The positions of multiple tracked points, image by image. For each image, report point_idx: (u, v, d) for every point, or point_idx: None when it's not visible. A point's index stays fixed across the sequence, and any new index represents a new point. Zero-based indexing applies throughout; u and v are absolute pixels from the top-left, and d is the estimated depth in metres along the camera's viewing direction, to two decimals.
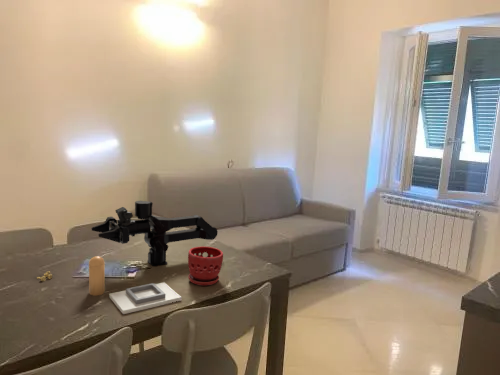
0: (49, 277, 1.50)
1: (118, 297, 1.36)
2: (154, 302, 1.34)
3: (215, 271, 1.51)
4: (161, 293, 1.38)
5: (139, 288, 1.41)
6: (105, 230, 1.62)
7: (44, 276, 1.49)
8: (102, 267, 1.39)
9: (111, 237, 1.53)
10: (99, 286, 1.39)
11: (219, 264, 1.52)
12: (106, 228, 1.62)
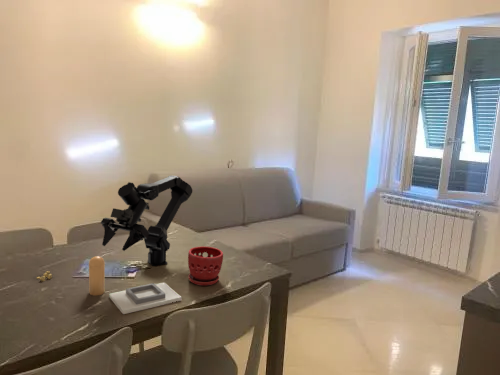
0: (49, 277, 1.50)
1: (118, 297, 1.36)
2: (154, 302, 1.34)
3: (215, 271, 1.51)
4: (161, 293, 1.38)
5: (139, 288, 1.41)
6: (111, 234, 1.52)
7: (44, 276, 1.49)
8: (102, 267, 1.39)
9: (133, 241, 1.47)
10: (99, 286, 1.39)
11: (219, 264, 1.52)
12: (111, 232, 1.52)
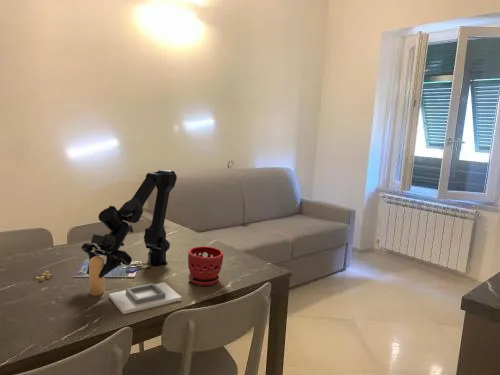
0: (48, 277, 1.50)
1: (118, 297, 1.36)
2: (154, 302, 1.34)
3: (215, 271, 1.51)
4: (161, 293, 1.38)
5: (139, 288, 1.41)
6: None
7: (43, 276, 1.49)
8: (102, 267, 1.39)
9: (110, 268, 1.41)
10: (99, 286, 1.39)
11: (219, 264, 1.52)
12: None
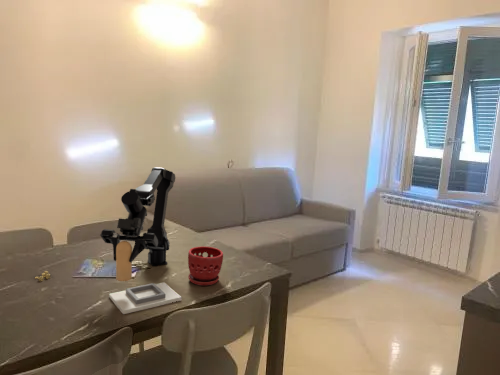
0: (47, 277, 1.50)
1: (118, 297, 1.36)
2: (154, 302, 1.34)
3: (215, 271, 1.51)
4: (161, 293, 1.38)
5: (139, 288, 1.41)
6: None
7: (42, 276, 1.49)
8: (131, 251, 1.36)
9: (138, 251, 1.38)
10: (129, 271, 1.36)
11: (219, 264, 1.52)
12: None
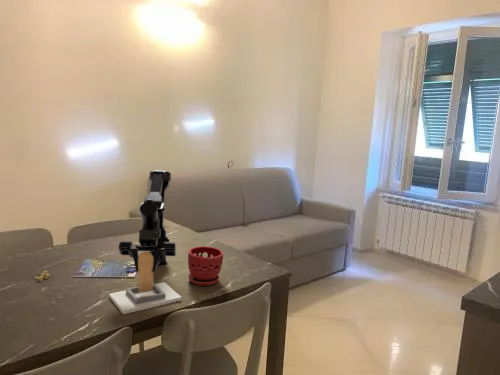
0: (46, 277, 1.50)
1: (118, 297, 1.36)
2: (154, 302, 1.34)
3: (215, 271, 1.51)
4: (161, 293, 1.38)
5: None
6: None
7: (41, 276, 1.49)
8: (153, 261, 1.37)
9: (158, 261, 1.40)
10: (152, 281, 1.37)
11: (219, 264, 1.52)
12: None
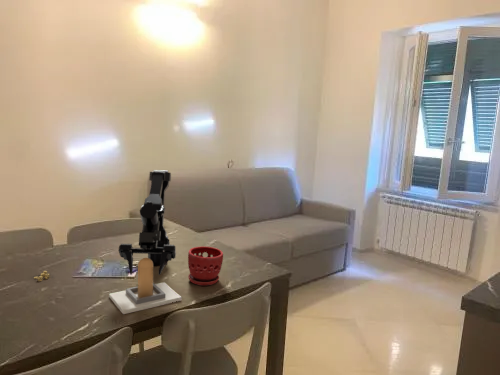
0: (46, 277, 1.50)
1: (118, 297, 1.36)
2: (154, 302, 1.34)
3: (215, 271, 1.51)
4: (161, 293, 1.38)
5: None
6: (132, 260, 1.40)
7: (41, 276, 1.49)
8: None
9: (164, 263, 1.40)
10: (151, 287, 1.38)
11: (219, 264, 1.52)
12: (132, 258, 1.39)
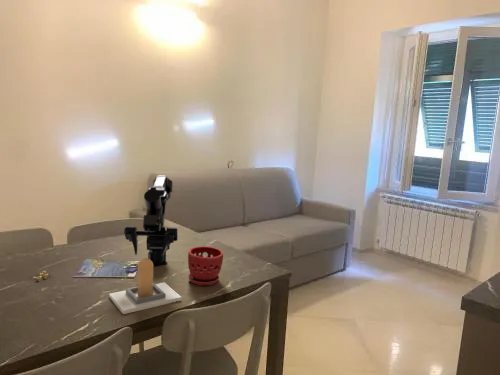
0: (45, 277, 1.50)
1: (118, 297, 1.36)
2: (154, 302, 1.34)
3: (215, 271, 1.51)
4: (161, 293, 1.38)
5: None
6: (137, 242, 1.48)
7: (40, 276, 1.49)
8: None
9: (167, 245, 1.49)
10: (151, 287, 1.38)
11: (219, 264, 1.52)
12: (136, 240, 1.48)
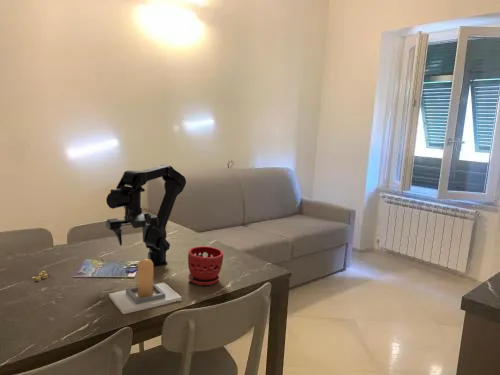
0: (44, 277, 1.50)
1: (118, 297, 1.36)
2: (154, 302, 1.34)
3: (215, 271, 1.51)
4: (161, 293, 1.38)
5: None
6: None
7: (39, 276, 1.49)
8: None
9: None
10: (151, 287, 1.38)
11: (219, 264, 1.52)
12: None
